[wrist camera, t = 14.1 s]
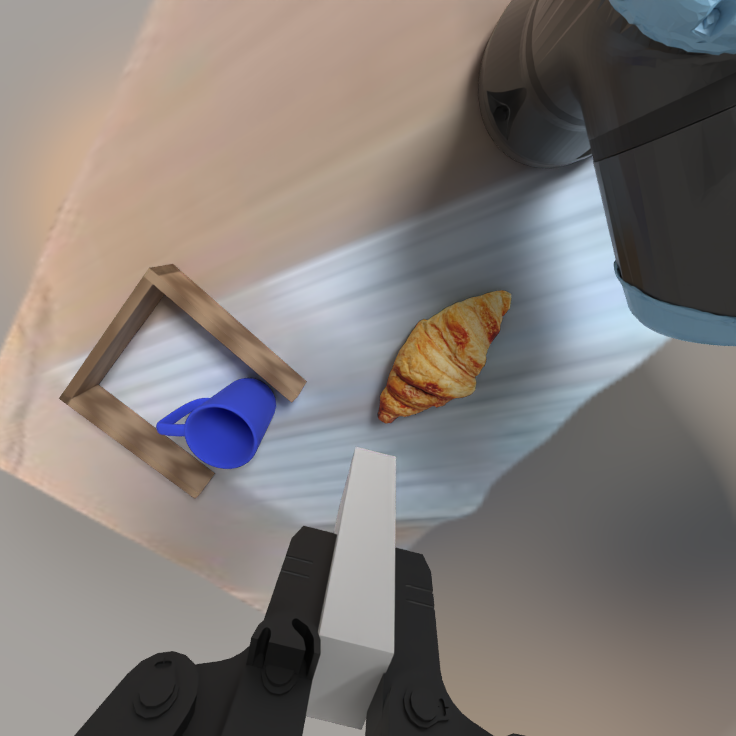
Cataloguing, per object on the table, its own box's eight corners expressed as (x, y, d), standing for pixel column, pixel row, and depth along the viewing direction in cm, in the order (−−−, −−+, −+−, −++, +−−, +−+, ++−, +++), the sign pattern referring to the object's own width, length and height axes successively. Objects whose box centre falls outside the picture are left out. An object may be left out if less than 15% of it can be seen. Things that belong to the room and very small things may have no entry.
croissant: (479, 270, 45) (468, 252, 38) (544, 325, 42) (546, 317, 35) (369, 390, 51) (341, 395, 44) (418, 446, 48) (397, 460, 41)
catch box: (306, 381, 48) (297, 396, 44) (210, 478, 55) (194, 498, 51) (172, 264, 44) (149, 267, 40) (87, 384, 51) (59, 398, 47)
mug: (191, 367, 49) (142, 400, 39) (281, 371, 48) (253, 406, 39) (200, 421, 52) (156, 464, 42) (285, 427, 51) (259, 472, 42)
